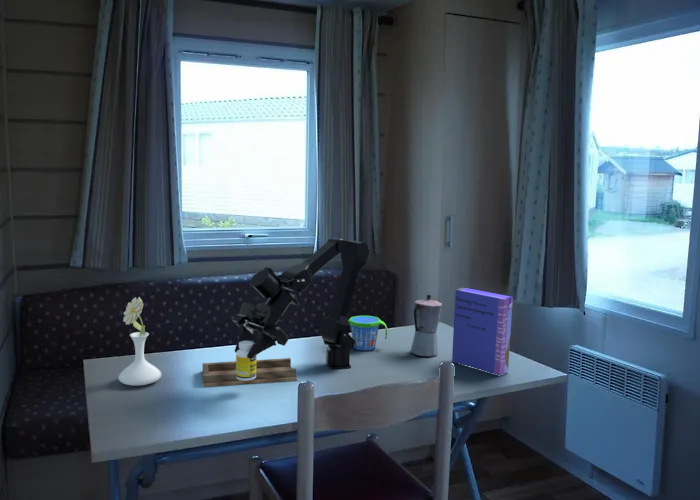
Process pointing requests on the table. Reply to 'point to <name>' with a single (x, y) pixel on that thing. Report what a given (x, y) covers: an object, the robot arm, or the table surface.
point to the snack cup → (365, 331)
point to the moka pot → (426, 327)
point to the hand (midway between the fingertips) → (241, 355)
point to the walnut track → (264, 374)
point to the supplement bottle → (245, 362)
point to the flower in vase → (138, 350)
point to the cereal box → (482, 330)
